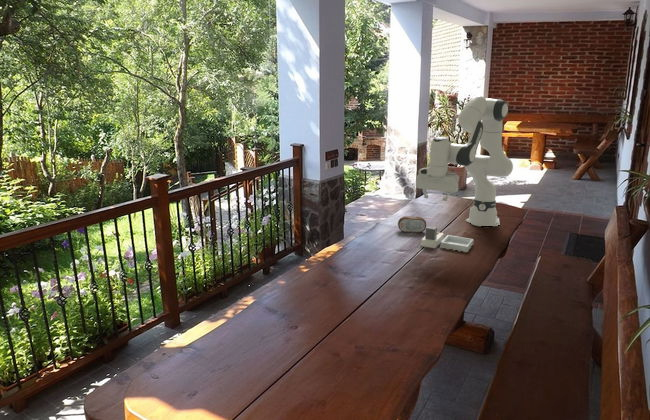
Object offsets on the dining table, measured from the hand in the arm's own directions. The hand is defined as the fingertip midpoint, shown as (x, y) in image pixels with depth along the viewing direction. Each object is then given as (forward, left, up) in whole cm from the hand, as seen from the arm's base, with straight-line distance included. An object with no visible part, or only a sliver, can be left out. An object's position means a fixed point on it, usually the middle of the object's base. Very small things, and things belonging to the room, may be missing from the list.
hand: (435, 199), depth 238 cm
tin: (-15, -16, -24) cm, 32 cm away
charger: (0, -1, -21) cm, 21 cm away
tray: (-4, +11, -23) cm, 26 cm away
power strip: (-6, -1, -23) cm, 24 cm away
